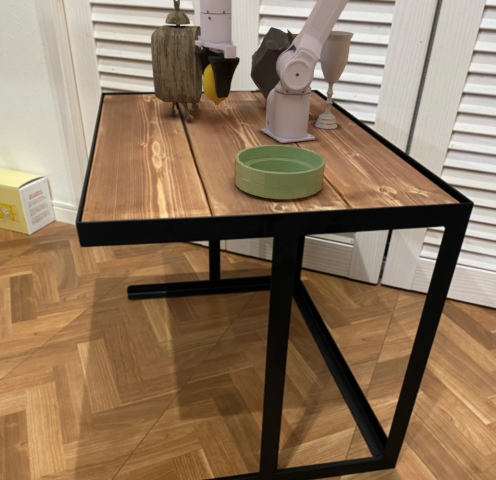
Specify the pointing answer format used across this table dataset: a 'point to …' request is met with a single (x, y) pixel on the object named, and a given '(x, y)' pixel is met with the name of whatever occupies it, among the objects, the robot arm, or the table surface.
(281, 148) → the bowl
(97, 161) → the table surface
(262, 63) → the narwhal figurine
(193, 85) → the tabletop clock
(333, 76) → the chalice
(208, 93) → the lemon
